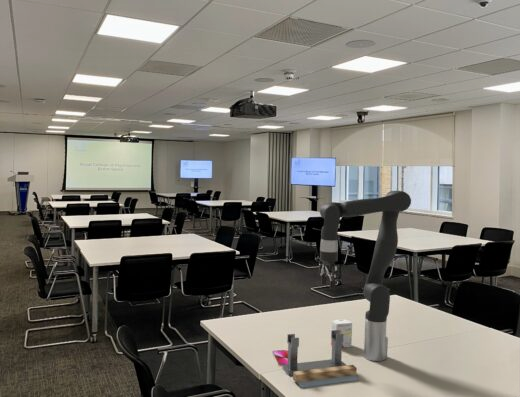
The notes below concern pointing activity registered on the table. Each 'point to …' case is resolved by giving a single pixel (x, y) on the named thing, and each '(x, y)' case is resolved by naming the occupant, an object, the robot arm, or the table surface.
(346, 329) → the ink box
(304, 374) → the rail
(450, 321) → the table surface
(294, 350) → the rack
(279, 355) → the smartphone
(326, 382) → the mat
